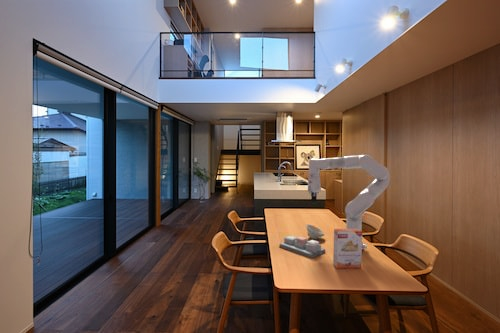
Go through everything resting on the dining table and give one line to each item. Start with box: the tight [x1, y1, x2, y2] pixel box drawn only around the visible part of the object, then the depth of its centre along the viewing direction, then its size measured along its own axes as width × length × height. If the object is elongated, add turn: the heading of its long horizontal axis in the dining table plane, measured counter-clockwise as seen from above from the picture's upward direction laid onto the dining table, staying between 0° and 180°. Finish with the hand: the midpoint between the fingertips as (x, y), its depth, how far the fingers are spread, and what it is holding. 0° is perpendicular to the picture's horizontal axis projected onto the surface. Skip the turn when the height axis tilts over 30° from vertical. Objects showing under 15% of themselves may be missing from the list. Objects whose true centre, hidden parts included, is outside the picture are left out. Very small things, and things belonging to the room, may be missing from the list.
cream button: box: [307, 239, 320, 247], centre depth 162 cm, size 5×5×3 cm
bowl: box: [305, 224, 325, 240], centre depth 191 cm, size 15×14×10 cm
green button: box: [285, 235, 296, 240], centre depth 176 cm, size 5×5×3 cm
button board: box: [279, 235, 326, 259], centre depth 169 cm, size 26×15×6 cm, turn 41°
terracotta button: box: [296, 236, 308, 243], centre depth 169 cm, size 5×5×3 cm
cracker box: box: [332, 228, 363, 269], centre depth 143 cm, size 14×6×21 cm, turn 93°
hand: (313, 201), depth 184 cm, fingers closed
